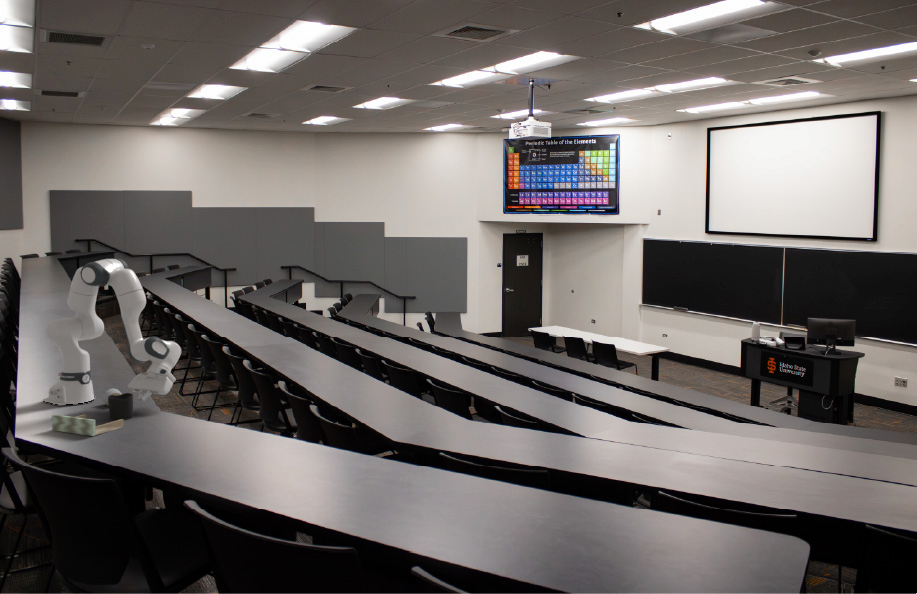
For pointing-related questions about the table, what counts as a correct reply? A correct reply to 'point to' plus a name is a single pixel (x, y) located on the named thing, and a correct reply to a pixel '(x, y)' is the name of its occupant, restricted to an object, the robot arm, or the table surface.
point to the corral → (82, 425)
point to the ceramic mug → (110, 392)
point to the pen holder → (121, 406)
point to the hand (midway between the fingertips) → (140, 400)
